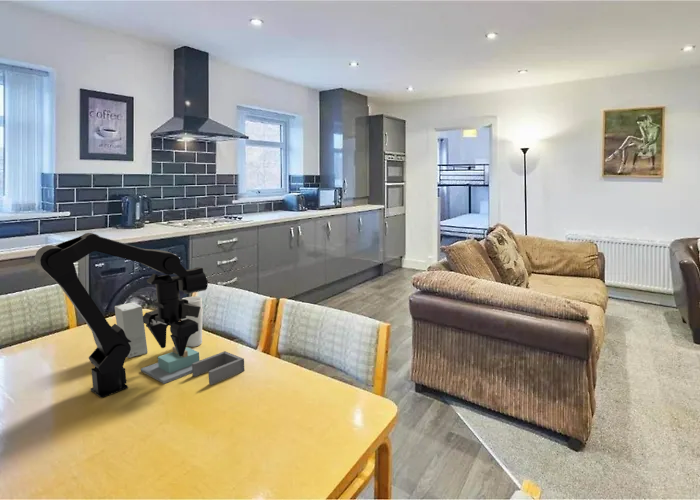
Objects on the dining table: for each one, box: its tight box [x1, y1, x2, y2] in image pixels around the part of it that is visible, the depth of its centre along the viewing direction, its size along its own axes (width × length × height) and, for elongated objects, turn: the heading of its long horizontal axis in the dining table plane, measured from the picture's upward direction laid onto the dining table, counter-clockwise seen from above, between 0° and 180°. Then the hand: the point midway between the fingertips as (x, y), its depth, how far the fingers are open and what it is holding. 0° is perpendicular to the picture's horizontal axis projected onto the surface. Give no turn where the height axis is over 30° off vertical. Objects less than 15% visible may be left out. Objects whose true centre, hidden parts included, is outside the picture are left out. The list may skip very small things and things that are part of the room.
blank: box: [157, 345, 200, 373], centre depth 120 cm, size 9×6×4 cm, turn 140°
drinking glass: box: [180, 296, 204, 348], centre depth 136 cm, size 7×7×15 cm
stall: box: [191, 350, 245, 386], centre depth 117 cm, size 11×9×4 cm
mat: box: [140, 362, 192, 385], centre depth 119 cm, size 12×12×1 cm
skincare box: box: [114, 301, 149, 359], centre depth 130 cm, size 8×6×15 cm
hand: (172, 351), depth 118 cm, fingers open, 9 cm apart
